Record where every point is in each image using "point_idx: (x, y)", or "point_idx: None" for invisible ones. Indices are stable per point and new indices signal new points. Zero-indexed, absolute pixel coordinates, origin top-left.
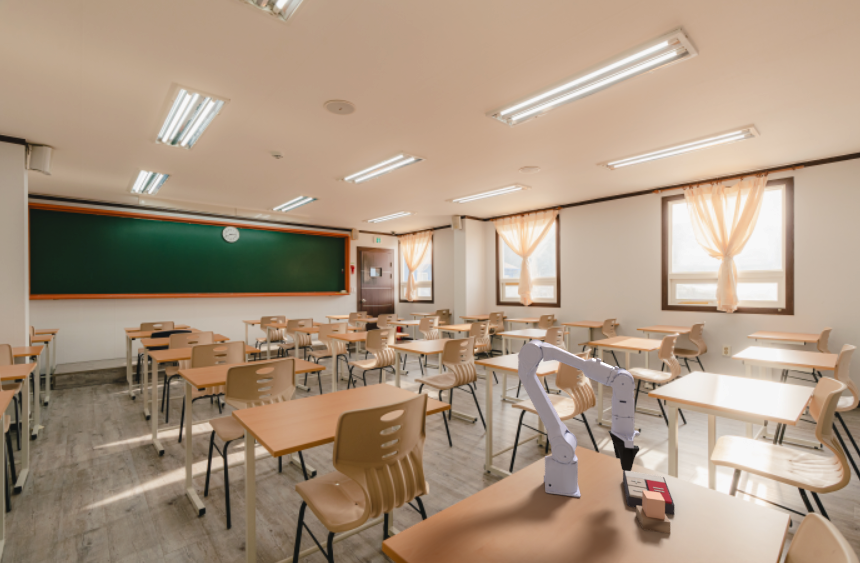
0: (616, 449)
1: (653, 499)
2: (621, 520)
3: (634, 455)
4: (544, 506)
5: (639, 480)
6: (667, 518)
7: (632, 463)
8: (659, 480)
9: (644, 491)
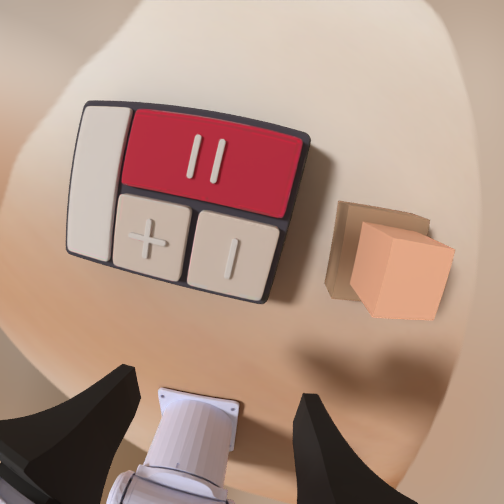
0: (119, 434)
1: (441, 295)
2: (351, 333)
3: (375, 480)
4: (290, 454)
5: (133, 218)
6: (411, 218)
7: (336, 430)
8: (117, 126)
9: (384, 312)
